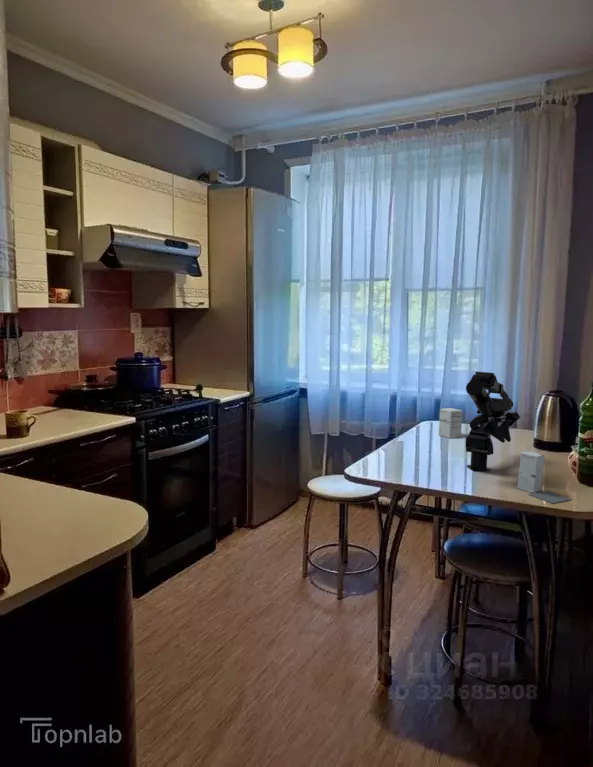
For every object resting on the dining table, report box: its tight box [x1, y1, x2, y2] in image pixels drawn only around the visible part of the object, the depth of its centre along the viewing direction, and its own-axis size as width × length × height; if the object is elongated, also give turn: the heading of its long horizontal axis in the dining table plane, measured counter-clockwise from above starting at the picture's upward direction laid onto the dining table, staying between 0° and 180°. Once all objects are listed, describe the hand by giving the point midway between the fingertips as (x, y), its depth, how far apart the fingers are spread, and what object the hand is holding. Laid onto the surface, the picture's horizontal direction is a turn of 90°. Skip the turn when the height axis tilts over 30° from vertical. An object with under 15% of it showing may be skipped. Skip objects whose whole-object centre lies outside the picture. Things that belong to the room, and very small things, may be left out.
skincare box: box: [517, 450, 545, 493], centre depth 180 cm, size 6×4×12 cm
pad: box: [527, 490, 572, 505], centre depth 174 cm, size 9×8×1 cm
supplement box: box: [438, 407, 463, 439], centre depth 257 cm, size 7×7×13 cm
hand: (506, 441), depth 189 cm, fingers open, 2 cm apart
